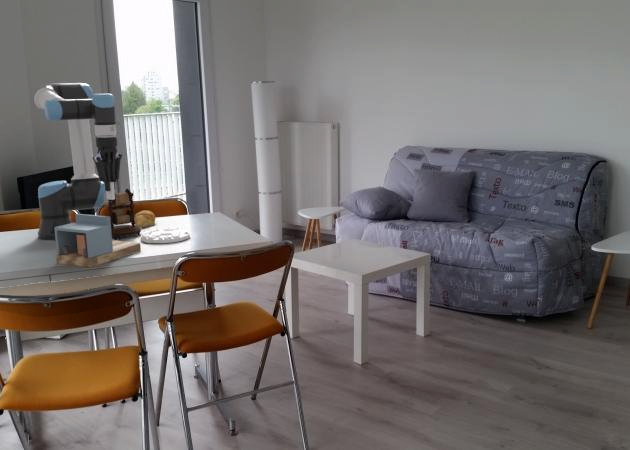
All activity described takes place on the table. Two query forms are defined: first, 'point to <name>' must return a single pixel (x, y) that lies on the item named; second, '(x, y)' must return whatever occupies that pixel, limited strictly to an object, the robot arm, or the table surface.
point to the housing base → (82, 260)
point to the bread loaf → (144, 219)
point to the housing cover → (95, 234)
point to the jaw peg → (81, 242)
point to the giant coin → (164, 235)
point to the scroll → (122, 215)
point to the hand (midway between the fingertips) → (110, 199)
